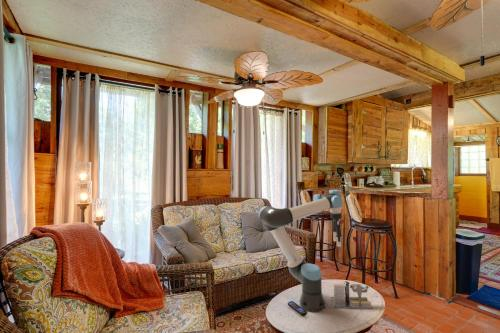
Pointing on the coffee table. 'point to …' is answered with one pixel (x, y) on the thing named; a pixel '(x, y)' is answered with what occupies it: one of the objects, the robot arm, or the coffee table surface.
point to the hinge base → (350, 305)
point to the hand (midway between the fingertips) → (337, 243)
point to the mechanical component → (359, 290)
